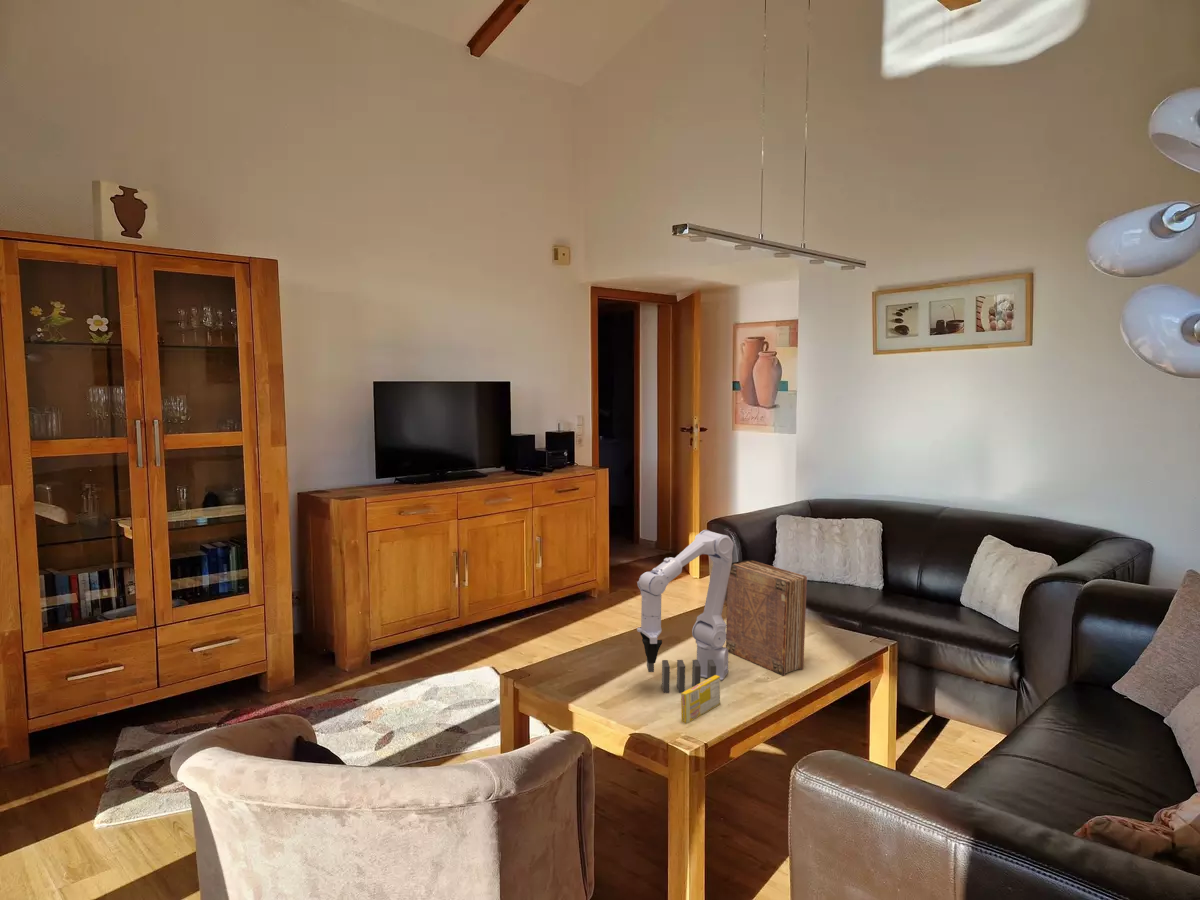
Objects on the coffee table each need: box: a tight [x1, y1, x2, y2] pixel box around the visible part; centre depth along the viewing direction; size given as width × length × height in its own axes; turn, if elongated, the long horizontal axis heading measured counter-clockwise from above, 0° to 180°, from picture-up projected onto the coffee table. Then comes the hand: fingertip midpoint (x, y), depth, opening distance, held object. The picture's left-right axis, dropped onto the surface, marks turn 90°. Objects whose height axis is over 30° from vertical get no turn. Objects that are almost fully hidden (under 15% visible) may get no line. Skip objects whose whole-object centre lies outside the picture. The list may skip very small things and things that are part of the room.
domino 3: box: [676, 659, 686, 694], centre depth 230 cm, size 2×5×8 cm, turn 2°
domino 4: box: [691, 659, 701, 688], centre depth 230 cm, size 2×5×8 cm, turn 2°
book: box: [725, 559, 808, 677], centre depth 251 cm, size 25×9×30 cm, turn 35°
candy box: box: [680, 675, 721, 724], centre depth 215 cm, size 16×2×8 cm, turn 138°
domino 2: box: [661, 659, 671, 694], centre depth 230 cm, size 2×5×8 cm, turn 2°
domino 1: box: [646, 660, 655, 673], centre depth 229 cm, size 2×5×8 cm, turn 3°
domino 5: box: [706, 660, 716, 680], centre depth 230 cm, size 2×5×8 cm, turn 2°
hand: (650, 659), depth 229 cm, fingers closed on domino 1, 5 cm apart
